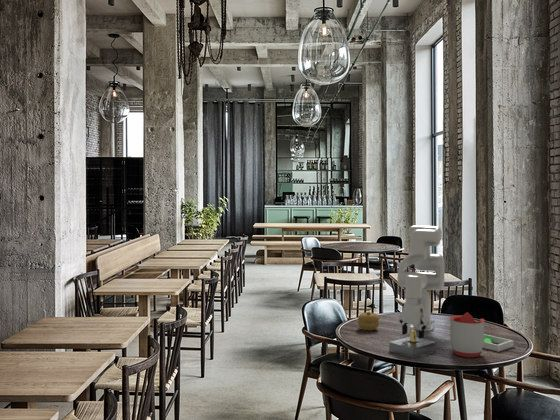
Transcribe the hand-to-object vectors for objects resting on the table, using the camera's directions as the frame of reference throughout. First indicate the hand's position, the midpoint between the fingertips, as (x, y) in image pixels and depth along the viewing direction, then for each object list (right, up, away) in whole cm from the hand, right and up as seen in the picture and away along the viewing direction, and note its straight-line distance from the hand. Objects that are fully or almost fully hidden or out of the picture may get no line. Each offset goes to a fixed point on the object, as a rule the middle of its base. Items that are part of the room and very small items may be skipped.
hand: (412, 336), depth 265 cm
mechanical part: (+40, -7, +14) cm, 43 cm away
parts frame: (+40, -7, +12) cm, 43 cm away
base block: (0, -7, 0) cm, 7 cm away
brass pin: (0, -7, 0) cm, 7 cm away
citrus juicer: (+25, -8, -4) cm, 27 cm away
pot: (-15, -6, +41) cm, 44 cm away
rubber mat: (+5, -7, +21) cm, 23 cm away
